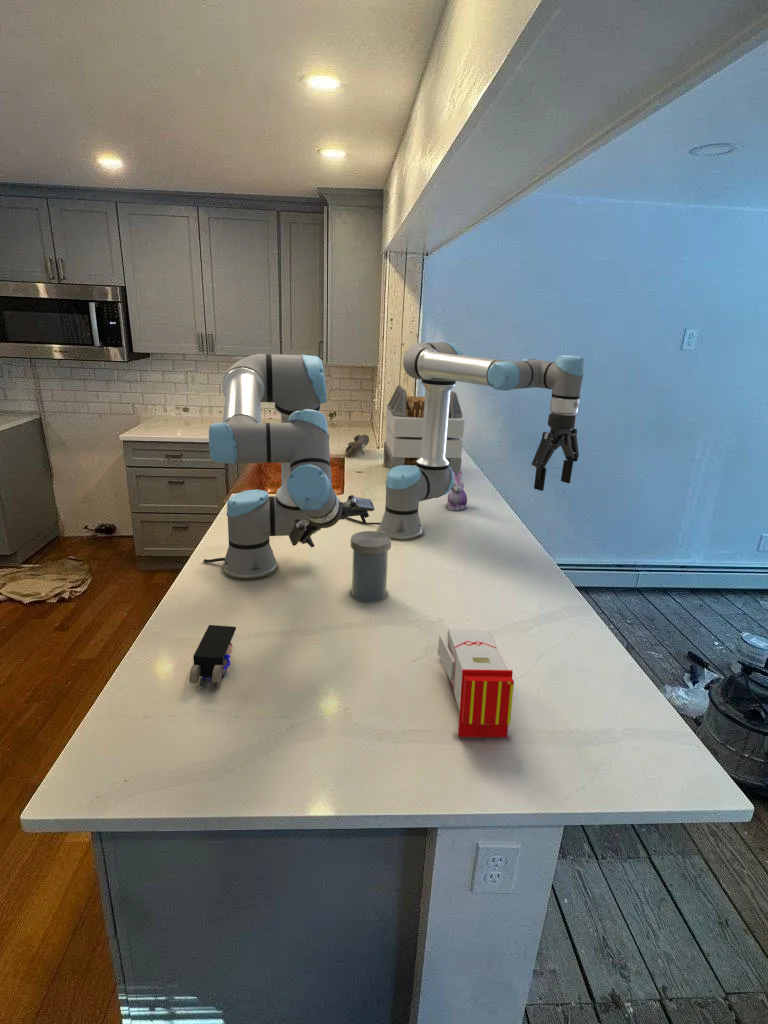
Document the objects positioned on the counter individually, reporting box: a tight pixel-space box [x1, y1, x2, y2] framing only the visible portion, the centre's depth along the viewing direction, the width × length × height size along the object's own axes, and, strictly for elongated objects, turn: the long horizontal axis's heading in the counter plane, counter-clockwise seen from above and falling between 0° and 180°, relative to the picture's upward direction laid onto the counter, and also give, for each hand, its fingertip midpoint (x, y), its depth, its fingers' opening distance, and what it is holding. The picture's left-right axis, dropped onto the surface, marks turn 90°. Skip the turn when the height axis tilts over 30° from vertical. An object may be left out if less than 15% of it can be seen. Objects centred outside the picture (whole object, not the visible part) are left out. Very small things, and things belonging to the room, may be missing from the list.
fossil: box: [344, 433, 370, 458], centre depth 304 cm, size 22×10×15 cm
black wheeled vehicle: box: [188, 624, 237, 689], centre depth 120 cm, size 7×8×15 cm
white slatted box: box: [383, 384, 465, 475], centre depth 268 cm, size 34×33×41 cm
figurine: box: [446, 470, 468, 511], centre depth 227 cm, size 9×10×15 cm
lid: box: [350, 530, 392, 554], centre depth 152 cm, size 11×11×2 cm
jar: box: [351, 549, 389, 603], centre depth 155 cm, size 10×10×16 cm
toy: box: [437, 628, 515, 738], centre depth 117 cm, size 12×13×30 cm
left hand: (337, 530), depth 136 cm, fingers open, 13 cm apart
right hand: (552, 485), depth 166 cm, fingers open, 13 cm apart
